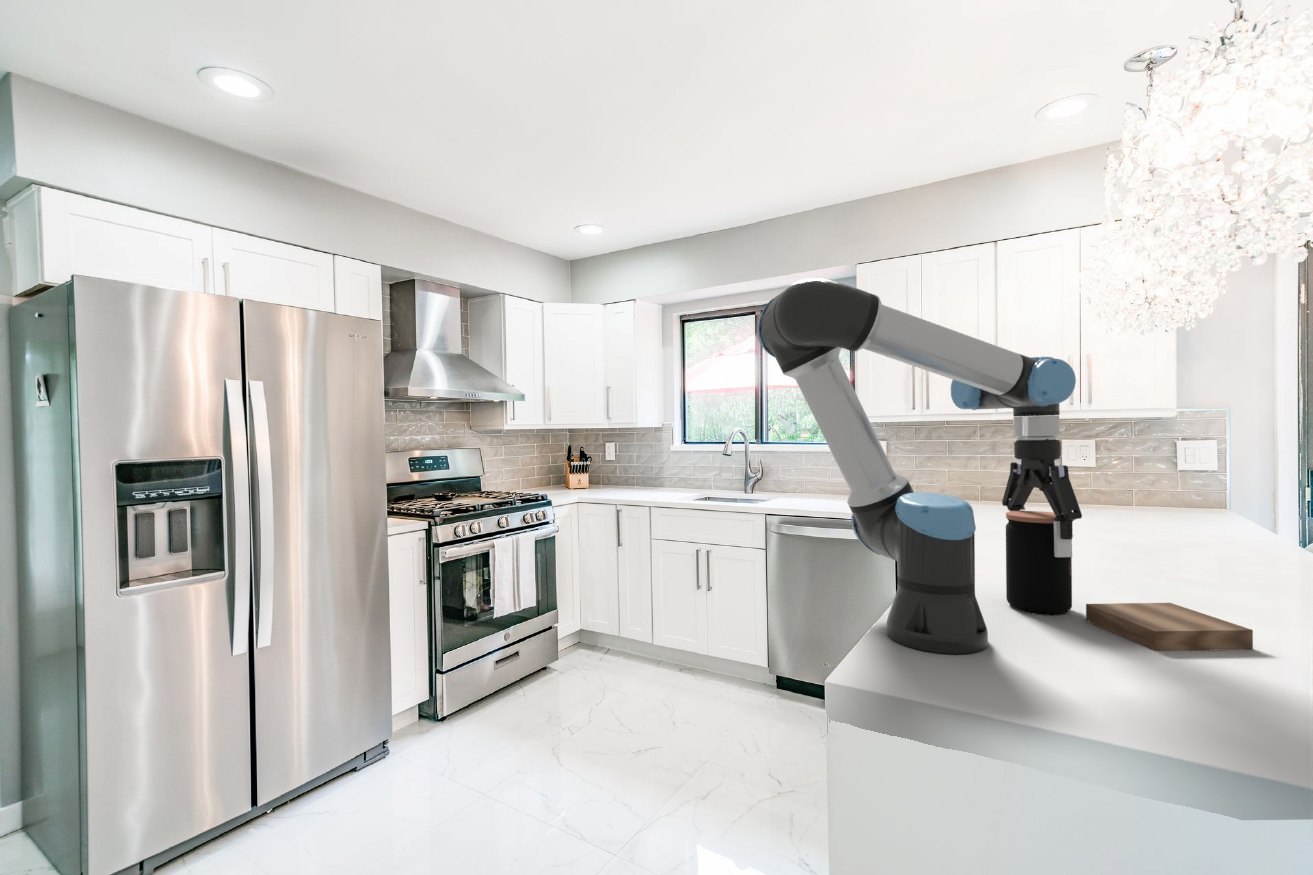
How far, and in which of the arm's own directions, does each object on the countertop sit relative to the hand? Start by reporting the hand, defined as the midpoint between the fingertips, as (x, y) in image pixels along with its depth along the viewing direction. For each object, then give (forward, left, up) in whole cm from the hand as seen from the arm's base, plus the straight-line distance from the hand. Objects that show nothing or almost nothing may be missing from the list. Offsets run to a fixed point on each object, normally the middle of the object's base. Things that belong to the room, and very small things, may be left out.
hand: (1039, 549), depth 116 cm
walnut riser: (+11, -16, -11) cm, 22 cm away
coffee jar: (0, 0, -11) cm, 11 cm away
